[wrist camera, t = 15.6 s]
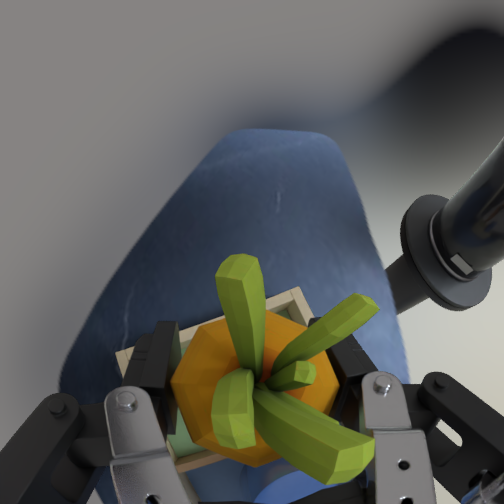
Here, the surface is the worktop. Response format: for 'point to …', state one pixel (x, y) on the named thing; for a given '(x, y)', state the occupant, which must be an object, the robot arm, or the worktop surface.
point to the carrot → (270, 381)
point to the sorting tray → (199, 458)
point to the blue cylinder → (276, 483)
